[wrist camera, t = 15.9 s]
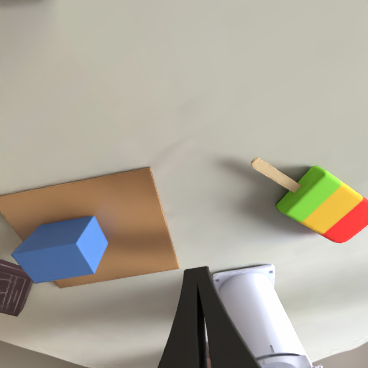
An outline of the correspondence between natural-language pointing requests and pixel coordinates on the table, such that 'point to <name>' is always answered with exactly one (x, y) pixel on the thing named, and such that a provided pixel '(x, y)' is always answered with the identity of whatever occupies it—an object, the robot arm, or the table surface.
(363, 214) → the popsicle
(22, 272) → the chocolate bar
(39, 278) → the blue block
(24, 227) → the cork mat
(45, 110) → the table surface
